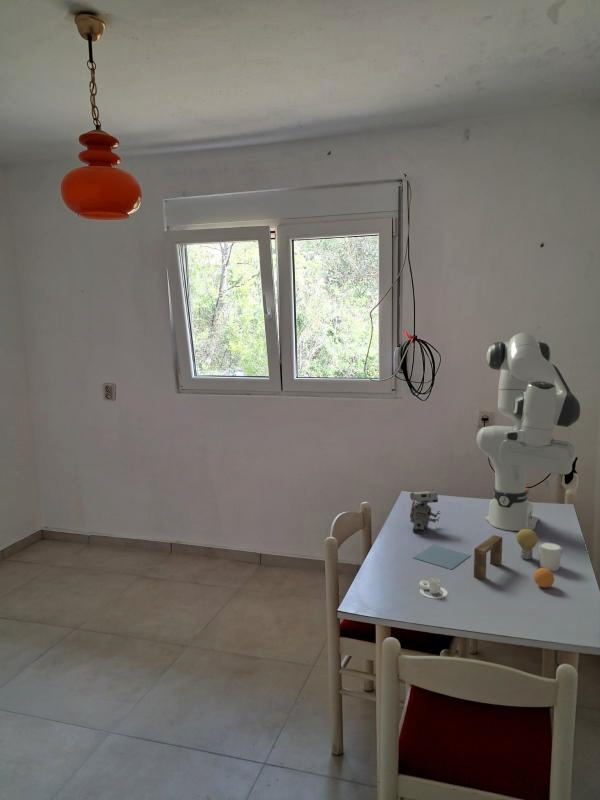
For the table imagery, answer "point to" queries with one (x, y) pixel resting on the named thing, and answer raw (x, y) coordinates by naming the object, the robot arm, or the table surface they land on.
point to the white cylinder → (549, 555)
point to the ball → (544, 577)
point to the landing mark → (442, 557)
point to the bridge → (481, 551)
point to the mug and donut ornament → (432, 588)
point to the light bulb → (526, 542)
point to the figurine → (422, 509)
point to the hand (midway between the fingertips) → (532, 483)
